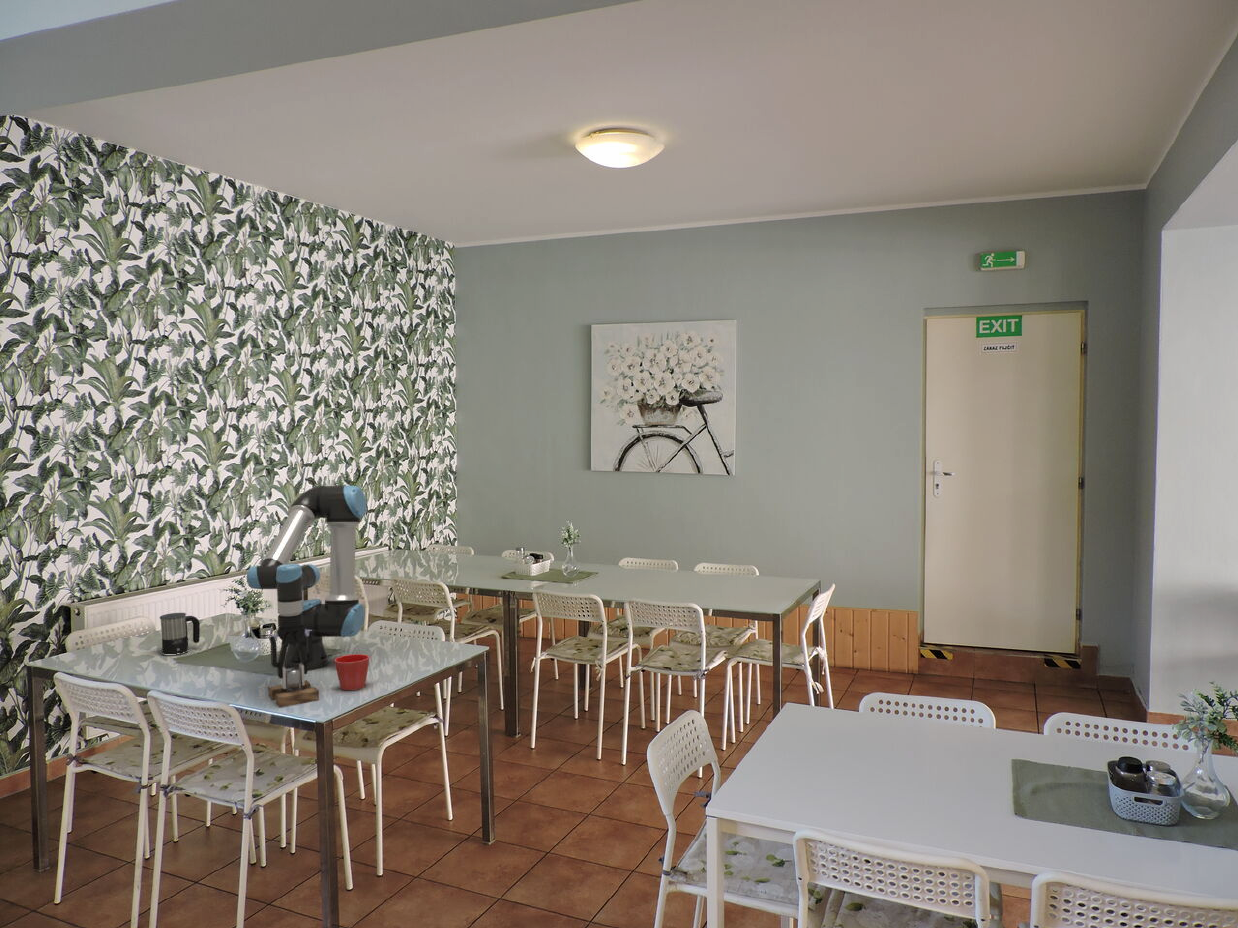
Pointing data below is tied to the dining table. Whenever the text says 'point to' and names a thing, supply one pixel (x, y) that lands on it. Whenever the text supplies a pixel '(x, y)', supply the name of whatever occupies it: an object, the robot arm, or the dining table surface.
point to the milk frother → (177, 632)
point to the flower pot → (352, 671)
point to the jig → (293, 695)
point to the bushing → (293, 680)
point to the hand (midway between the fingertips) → (293, 685)
